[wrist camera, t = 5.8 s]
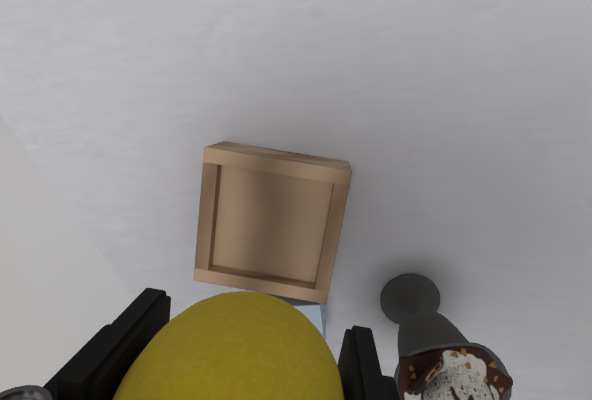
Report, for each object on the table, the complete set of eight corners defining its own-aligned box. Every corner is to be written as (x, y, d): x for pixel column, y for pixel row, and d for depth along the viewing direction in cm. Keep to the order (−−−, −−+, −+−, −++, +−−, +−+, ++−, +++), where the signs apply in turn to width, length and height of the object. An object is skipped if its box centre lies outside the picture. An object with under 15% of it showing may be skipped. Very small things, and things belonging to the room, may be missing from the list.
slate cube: (320, 276, 30) (319, 304, 26) (325, 322, 31) (325, 356, 27) (269, 280, 31) (260, 308, 26) (276, 325, 32) (268, 359, 27)
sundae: (454, 327, 30) (574, 529, 16) (377, 338, 31) (422, 538, 16) (446, 258, 29) (570, 410, 14) (365, 271, 29) (402, 426, 15)
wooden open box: (347, 161, 27) (352, 171, 23) (325, 275, 30) (326, 304, 26) (223, 141, 28) (204, 147, 23) (212, 255, 30) (193, 280, 26)
